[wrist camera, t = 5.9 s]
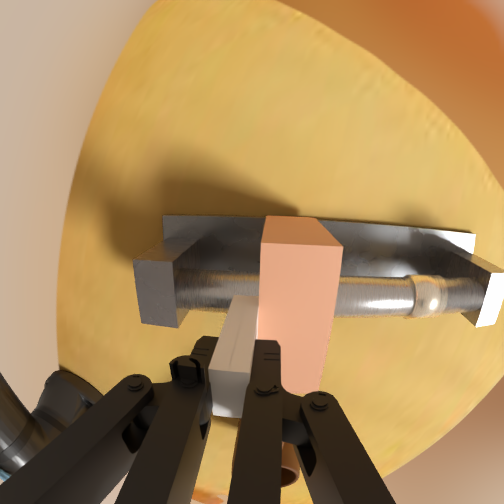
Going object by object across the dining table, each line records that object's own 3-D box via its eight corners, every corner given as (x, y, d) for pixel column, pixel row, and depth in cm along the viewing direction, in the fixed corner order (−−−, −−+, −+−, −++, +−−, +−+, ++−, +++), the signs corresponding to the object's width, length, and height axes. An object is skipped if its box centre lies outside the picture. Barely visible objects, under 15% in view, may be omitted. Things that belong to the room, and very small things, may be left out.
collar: (262, 319, 25) (255, 391, 16) (266, 215, 22) (260, 242, 13) (305, 321, 24) (317, 393, 15) (315, 217, 22) (343, 246, 13)
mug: (245, 373, 28) (234, 438, 19) (311, 379, 28) (320, 443, 19) (237, 432, 31) (228, 486, 22) (291, 436, 31) (292, 490, 22)
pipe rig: (170, 303, 26) (139, 345, 19) (165, 214, 24) (122, 231, 17) (455, 309, 24) (491, 342, 17) (472, 233, 22) (518, 252, 14)
